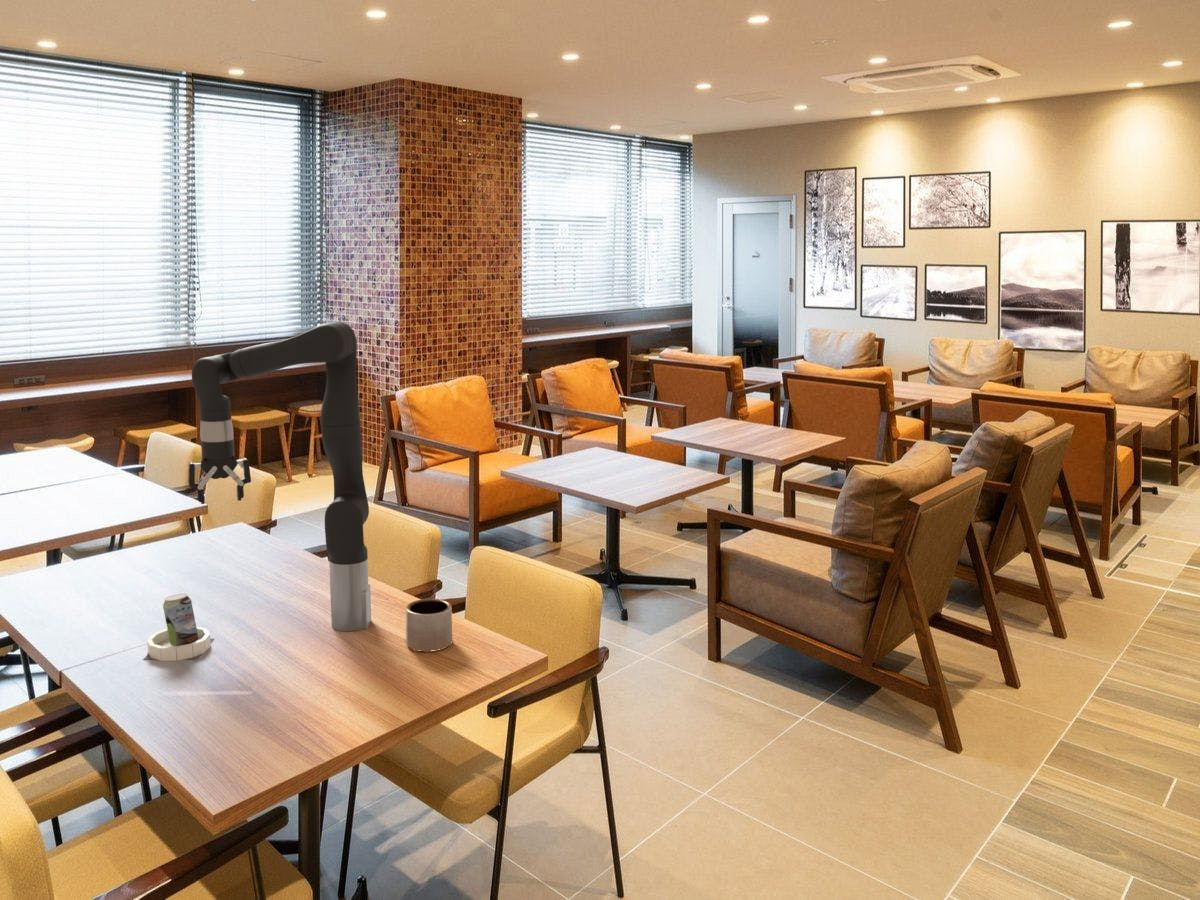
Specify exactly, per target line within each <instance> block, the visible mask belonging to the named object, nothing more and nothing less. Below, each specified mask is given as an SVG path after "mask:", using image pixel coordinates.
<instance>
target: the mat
mask: <svg viewBox="0 0 1200 900" xmlns="http://www.w3.org/2000/svg"><path fill="white" fill-rule="evenodd" d="M210 640H211V644H212V643H213V641H214V640H215V638H210ZM202 655H203V653H202V654H200V655H198V656H195V657H193V658H188V659H183V660H182V661H197V660H199V658H200V657H201V656H202ZM142 661H158V660H157V659H154V658H151V657H150V655H149V653H148V654H147V655H146V656H145V657H144V658H143V659H142Z"/></svg>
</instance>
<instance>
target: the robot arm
mask: <svg viewBox="0 0 1200 900" xmlns="http://www.w3.org/2000/svg"><path fill="white" fill-rule="evenodd" d="M357 344H358V343H357V337H356V334H355V331H354V330H353V328H352V327H351V326H350V325H349V324H348V323H346V322H344V321H341V320H340V321H338V320H337V321H336V320H335V321H331V322H323V323H321V324H319V325H317V326H315V327H314V328H311V329H310V330H307V331H305V332H303V333H301V334H298V335H295V336H292V337H290V338H287V339H283V340H278V341H271V342H266V343H265V342H264V343H261V344H256V345H252V346H248V347H243V348H239V349H237V350H235V351H233V352H231V351H230V352H226V353H222V354H215V355H212V356H207V357H206V356H205V357H202V358H199V359H197V360H196V361H195V362H194V363H193V366H192V367H191V368H192V370H191V381H192V384H193V387H194V391H195V395H196V398H197V400H198V403H199V415H200V425H199V427H200V428H199V431H200V432H199V437H200V448H201V461H200V462H192V461H190V462H188V465H187V466H188V468H187V470H188V472H187V474H188V480H187V483H188V486H189V487H190V488H191V489H195V490H196V496H197V501H198V502H199V503H200V504H201V505H205V504H206V503H205V489H204V488H205V485H206V484H207V483H208V482H209V481H210V479H213V480H218V479H227V478H229V477H230V478H231V479H232V480H233V481H235V483H236V485H235V487H236V498H237V501H242V499H244V497H245V495H244V494H245V492H244V491H245V490H244V486H245V485H246V484H249V483H251V482H252V477H251V471H250V470H251V469H250V462H249V460H248V459H247V457H243V458H242V459H236V456H235V440H234V439H235V438H234V425H233V421H232V408H231V401H230V398H229V397H228V396H227V395H224V394H223V391H222V387H221V385H222V384H227V383H230V382H233V381H236V380H240V379H246V378H252V377H257V376H261V375H264V374H269V373H273V372H275V371H278V370H281V369H284V368H288V367H292V366H296V365H297V366H298V365H302V364H315V363H324V364H325V371H326V384H325V385H326V387H325V392H324V396H323V400H322V404H321V409H320V429H321V431H320V432H321V441H322V444H323V449H324V452H325V455H326V458H327V460H328V462H329V464H330V468H331V470H332V471H331V472H332V475H333V501H332V502H331V503H330V504H328V506H327V508H326V509H325V513H324V534H325V547H326V551H327V553H328V561H329V563H328V564H329V565H328V567H329V587H330V588H329V589H330V591H329V592H330V593H329V594H330V613H331V615H330V617H331V619H330V620H331V628H333V629H334V630H336V631H342V632H353V631H359V630H367V629H368V628H369V625H370V623H371V622H372V602H371V597H372V596H371V595H372V594H371V584H369V568H368V567H369V564H368V563H369V561H368V559H369V557H368V556H369V555H368V548H367V546H366V545H365V540H364V539H365V537H364V525H365V523H366V522H367V520H368V517H369V514H370V508H369V501H368V495H367V491H366V486H365V480H364V474H363V473H364V471H363V444H362V440H363V439H362V427H361V417H360V415H361V414H360V407H359V395H358V387H357V386H358V385H357V354H358V353H357V349H358V345H357ZM238 465H239V467H240V468H241V469H243V475H244V476H243V477H242V478H240V477H239V476H238V475H237V474H236V472H235V469H236V468H237V466H238ZM199 469H202V471H203V474H202V475H201V476H200V477H201V478H199V480H198V482H196V481H195V480H196V477H195V476H196V475H195V474H196V473H197V472H198V471H199Z"/></svg>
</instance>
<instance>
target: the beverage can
mask: <svg viewBox="0 0 1200 900" xmlns="http://www.w3.org/2000/svg"><path fill="white" fill-rule="evenodd" d="M162 609H163V613H164V619H165V622H166V629H168V634H169V639H170V644H171V645H172V646H182V645H187V644H191V643H193V642H196V640H198V633H197V628H196V626H197V625H196V623H197V622H196V619H195V617H196V616H195V613H194V607H193V602H192V599H191V598H190V597H189V596H188V594H187V593H178V594H173V595H170V596H167V597H166V598H164V602H163V604H162Z"/></svg>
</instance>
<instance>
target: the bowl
mask: <svg viewBox="0 0 1200 900" xmlns="http://www.w3.org/2000/svg"><path fill="white" fill-rule="evenodd" d="M196 628H197V633H198V640H196V642H193V643H191V644H187V645H182V646H172V645H171V644H170V639H169V634H168V629H167V628H164V629H162V630H159V631H157V632H154V633H152V634H151V635H150V636H149V637H148V638H147V639H146V642H147V643H146V645H147V653H148V654H149V655H150V657H151V658H154V659H157V660H156V661H161V662H163V661H164V662H166V661H167V662H169V661H171V662H176V661H184V660H183V659H188V658H193V657H195V656H198V655H200V654H202V655H203V654H204V653H206V652H207V651H208V650H209V649H210V647H211V646H212V645H211V644H212V643H211V640H210V639H211V633H210V632H209V629H207V628H206V627H201V626H198V625H196Z"/></svg>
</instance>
